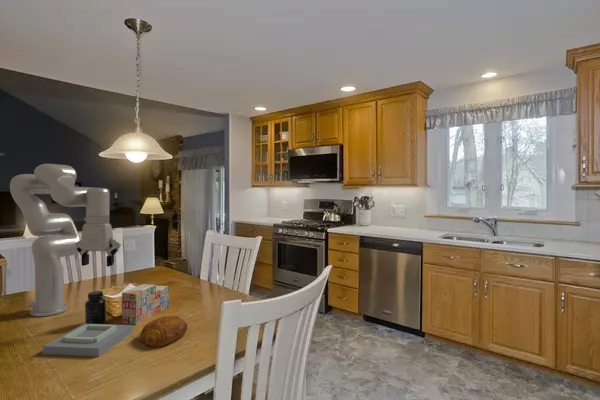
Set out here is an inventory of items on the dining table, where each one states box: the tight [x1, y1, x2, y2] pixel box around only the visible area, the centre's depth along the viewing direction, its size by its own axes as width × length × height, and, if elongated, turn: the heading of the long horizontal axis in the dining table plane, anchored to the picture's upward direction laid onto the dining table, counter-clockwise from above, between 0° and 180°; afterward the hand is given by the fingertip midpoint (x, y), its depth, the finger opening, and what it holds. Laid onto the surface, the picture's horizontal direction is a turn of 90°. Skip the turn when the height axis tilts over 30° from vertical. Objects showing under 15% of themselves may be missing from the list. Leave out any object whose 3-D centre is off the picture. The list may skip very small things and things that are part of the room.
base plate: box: [42, 323, 134, 357], centre depth 110 cm, size 18×18×4 cm
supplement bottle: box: [84, 290, 107, 324], centre depth 125 cm, size 7×7×12 cm
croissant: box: [139, 315, 189, 348], centre depth 115 cm, size 14×16×8 cm
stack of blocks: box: [121, 283, 170, 326], centre depth 136 cm, size 21×6×12 cm, turn 169°
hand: (97, 265), depth 126 cm, fingers open, 9 cm apart
